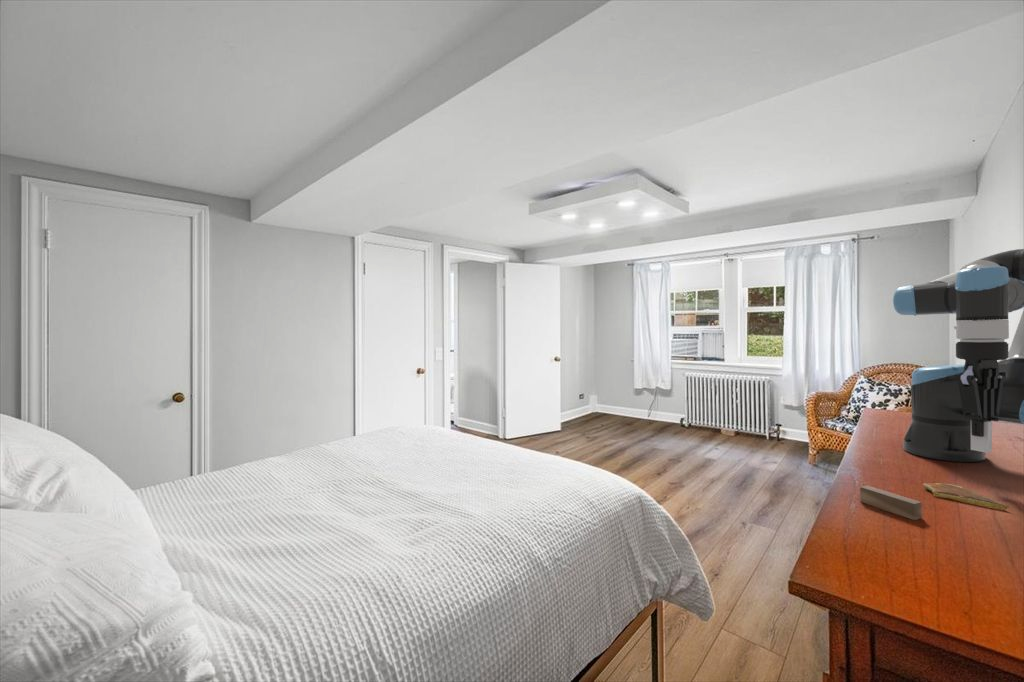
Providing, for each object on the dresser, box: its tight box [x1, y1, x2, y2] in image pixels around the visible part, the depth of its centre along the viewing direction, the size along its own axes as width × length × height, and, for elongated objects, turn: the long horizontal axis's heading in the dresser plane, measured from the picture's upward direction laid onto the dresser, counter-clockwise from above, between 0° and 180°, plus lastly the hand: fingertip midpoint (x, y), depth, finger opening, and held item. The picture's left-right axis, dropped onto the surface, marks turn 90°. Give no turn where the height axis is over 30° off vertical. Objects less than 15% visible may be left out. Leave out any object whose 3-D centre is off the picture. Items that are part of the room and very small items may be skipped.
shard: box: [923, 482, 1010, 511], centre depth 85 cm, size 11×8×2 cm
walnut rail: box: [859, 485, 923, 521], centre depth 82 cm, size 2×9×3 cm, turn 19°
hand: (981, 450), depth 91 cm, fingers closed
